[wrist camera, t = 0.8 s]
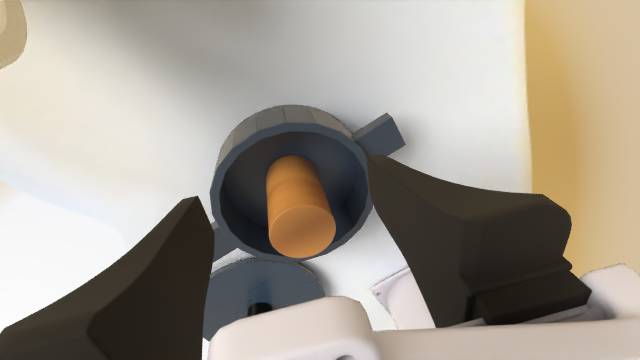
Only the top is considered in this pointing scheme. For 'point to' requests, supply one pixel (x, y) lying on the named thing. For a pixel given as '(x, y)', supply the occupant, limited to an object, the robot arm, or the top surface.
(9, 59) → the pitcher
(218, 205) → the pot
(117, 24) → the top surface
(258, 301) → the lid
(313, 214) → the peg
